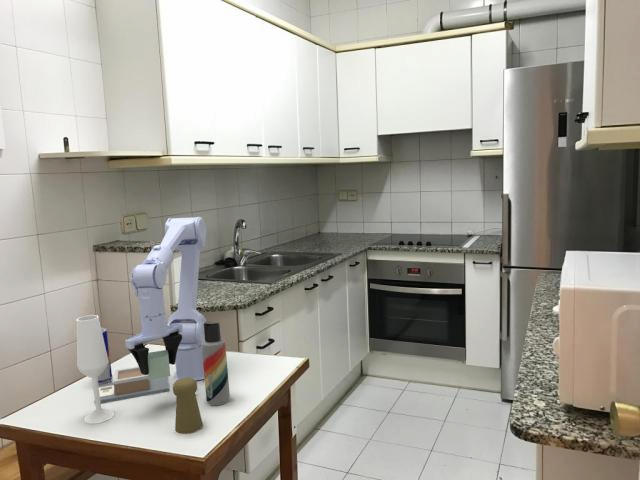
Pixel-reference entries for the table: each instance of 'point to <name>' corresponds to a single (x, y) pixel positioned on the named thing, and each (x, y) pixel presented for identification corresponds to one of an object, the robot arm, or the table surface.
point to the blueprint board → (153, 390)
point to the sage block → (158, 364)
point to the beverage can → (107, 373)
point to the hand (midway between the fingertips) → (158, 368)
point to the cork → (186, 406)
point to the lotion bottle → (215, 365)
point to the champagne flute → (92, 360)
